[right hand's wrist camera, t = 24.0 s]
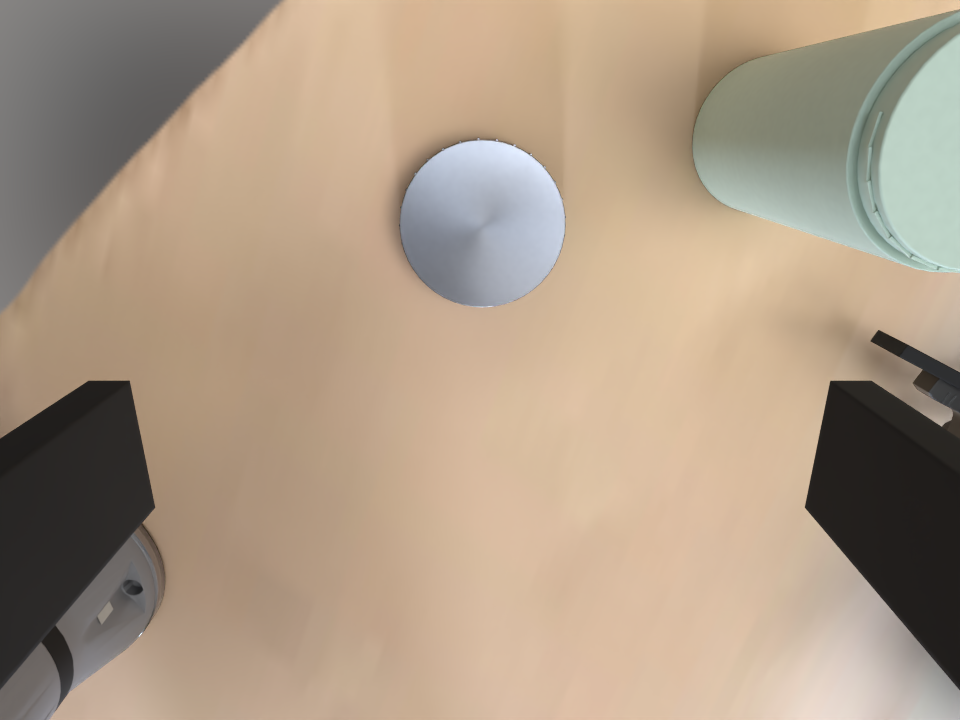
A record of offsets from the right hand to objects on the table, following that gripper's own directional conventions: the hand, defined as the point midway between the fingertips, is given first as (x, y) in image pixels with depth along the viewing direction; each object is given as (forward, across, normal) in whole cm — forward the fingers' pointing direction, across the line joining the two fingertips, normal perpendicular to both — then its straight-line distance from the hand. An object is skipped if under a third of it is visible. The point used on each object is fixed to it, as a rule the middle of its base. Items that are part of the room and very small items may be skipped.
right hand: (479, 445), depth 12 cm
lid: (+28, 0, 0) cm, 28 cm away
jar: (+29, +17, +5) cm, 34 cm away
